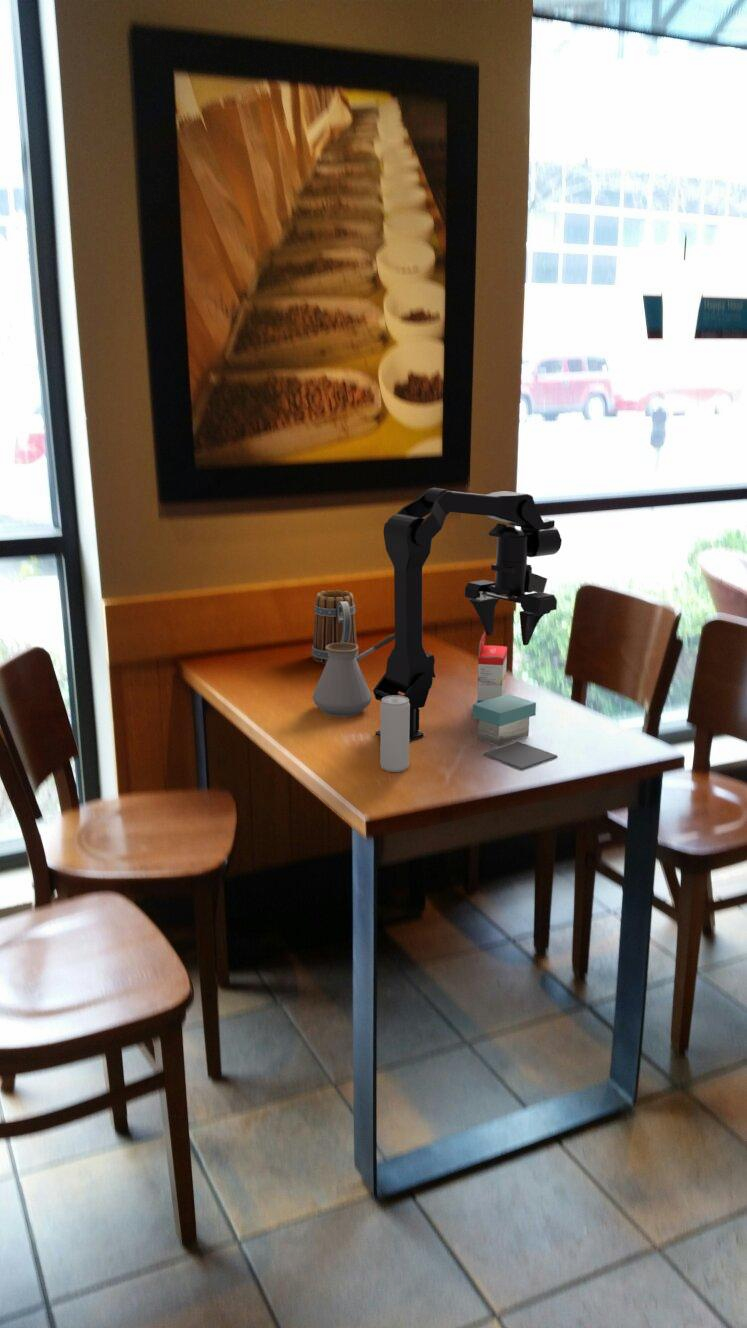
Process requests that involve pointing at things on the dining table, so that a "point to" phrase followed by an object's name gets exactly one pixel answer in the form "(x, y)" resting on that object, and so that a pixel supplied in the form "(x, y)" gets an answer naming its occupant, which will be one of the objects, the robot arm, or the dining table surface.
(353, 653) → the coffee pot
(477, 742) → the dining table surface
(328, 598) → the mug
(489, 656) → the ink box
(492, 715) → the lid
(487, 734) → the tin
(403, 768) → the beverage can
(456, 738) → the dining table surface
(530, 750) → the coaster
